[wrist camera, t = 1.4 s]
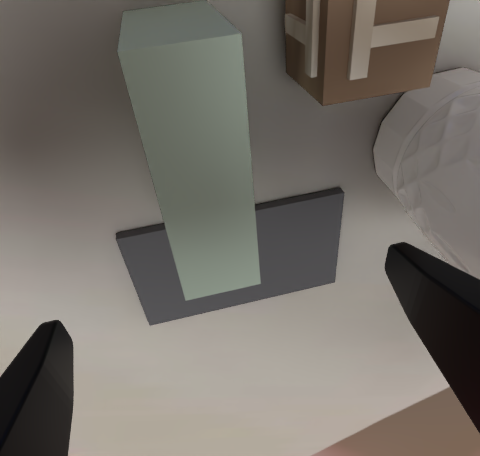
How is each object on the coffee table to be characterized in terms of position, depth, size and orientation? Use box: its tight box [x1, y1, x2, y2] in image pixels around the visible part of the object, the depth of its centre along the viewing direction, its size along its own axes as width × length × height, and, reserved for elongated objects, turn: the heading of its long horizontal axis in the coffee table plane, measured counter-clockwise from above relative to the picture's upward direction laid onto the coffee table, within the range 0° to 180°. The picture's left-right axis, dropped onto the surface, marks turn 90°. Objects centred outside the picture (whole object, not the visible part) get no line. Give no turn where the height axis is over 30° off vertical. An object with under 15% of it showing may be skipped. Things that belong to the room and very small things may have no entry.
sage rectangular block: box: [117, 0, 261, 301], centre depth 14 cm, size 9×3×6 cm, turn 5°
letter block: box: [285, 0, 450, 106], centre depth 13 cm, size 4×4×4 cm
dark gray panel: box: [116, 188, 344, 325], centre depth 22 cm, size 7×12×1 cm, turn 95°
